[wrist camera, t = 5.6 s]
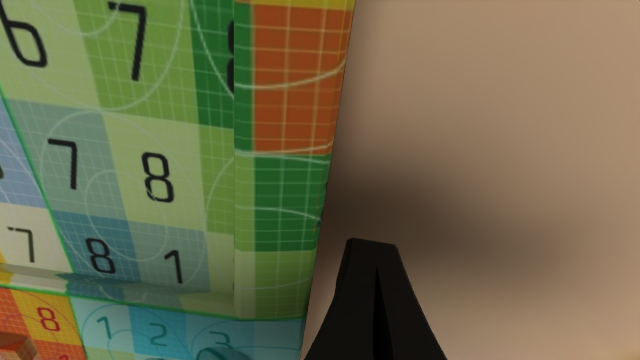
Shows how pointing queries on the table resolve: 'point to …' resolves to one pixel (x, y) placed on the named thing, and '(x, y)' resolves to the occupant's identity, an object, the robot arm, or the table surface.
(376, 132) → the table surface
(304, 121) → the puzzle game
